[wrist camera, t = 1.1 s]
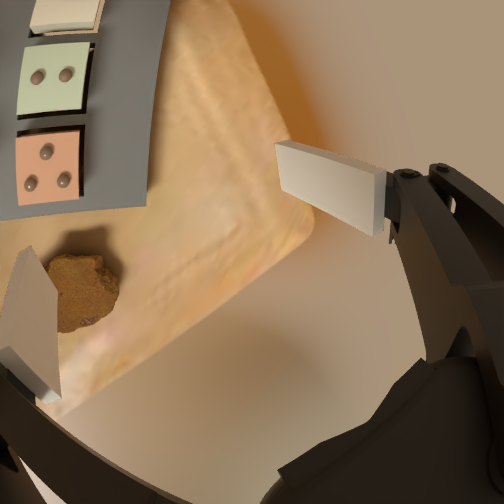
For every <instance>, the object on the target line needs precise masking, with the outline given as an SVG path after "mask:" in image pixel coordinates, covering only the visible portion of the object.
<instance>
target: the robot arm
mask: <svg viewBox="0 0 504 504" xmlns="http://www.w3.org/2000/svg"><path fill="white" fill-rule="evenodd" d="M275 149H276V156H277V163H278V169H279V176H280V183H281V190H283V191H285V192H287V193H289V194H291V195H293V196H295V197H297V198H299V199H301V200H303V201H305V202H307V203H309V204H311V205H313V206H315V207H317V208H319V209H321V210H323V211H325V212H327V213H329V214H331V215H332V216H334V217H337V218H338V219H340V220H342V221H344V222H346V223H348V224H350V225H352V226H353V227H355V228H357V229H359V230H361V231H362V232H364V233H366V234H368V235H370V236H371V237H373V236H375V235H377V234H378V233H380V232H381V231H383V230H384V219H385V217H386V218H388V219H390V220H391V225H390V237H389V244H391V243H392V240H393V239H394V240H395V244H396V245H397V248H398V251H399V254H400V257H401V260H402V263H403V266H404V269H405V273H406V276H407V279H408V283H409V286H410V289H411V293H412V296H413V300H414V303H415V307H416V311H417V315H418V319H419V322H420V326H421V331H422V335H423V339H424V344H425V348H426V361H424V360H423V359H422V358H420V359H419V360H418V361H417V362H416V363H415V364H414V365H413V366H412V367H411V368H410V369H409V370H408V371H407V372H406V373H405V374H404V375H403V376H402V377H401V378H400V379H399V380H398V381H396V382H395V383H394V385H393V386H392V388H391V389H390V391H389V392H388V394H387V395H386V397H385V398H384V400H383V401H382V403H381V404H380V406H379V407H378V409H377V410H376V411H375V413H374V415H373V416H372V417H371V418H370V420H369V421H367V422H366V423H364V424H362V425H360V426H358V427H356V428H354V429H351V430H349V431H347V432H345V433H343V434H340V435H338V436H335V437H333V438H331V439H328V440H326V441H323V442H321V443H319V444H318V445H316V446H315V447H313V448H312V449H310V450H309V451H307V452H306V453H304V454H303V455H301V456H299V457H298V458H296V459H295V460H293V461H291V462H290V463H288V464H286V465H285V466H283V467H282V468H280V469H278V470H277V471H278V472H279V474H280V476H281V478H280V479H279V480H278V481H277V482H276V483H275V484H274V485H273V486H272V487H271V488H270V489H269V491H268V492H267V493H266V494H265V496H264V498H263V499H262V501H261V502H260V504H504V205H503V204H502V203H501V202H500V201H498V200H497V199H496V198H495V197H493V196H492V195H490V194H489V193H488V192H487V191H485V190H484V189H483V188H481V187H480V186H479V185H477V184H476V183H474V182H473V181H471V180H470V179H469V178H467V177H466V176H464V175H463V174H461V173H460V172H458V171H457V170H456V169H454V168H452V167H450V166H448V165H446V164H443V163H438V164H431V165H430V167H429V175H427V176H423V175H422V174H421V173H419V172H418V171H415V170H412V169H399V170H395V171H394V173H393V174H392V173H390V172H387V171H386V169H383V168H380V167H377V166H374V165H371V164H368V163H365V162H362V161H359V160H356V159H353V158H350V157H346V156H343V155H340V154H336V153H333V152H329V151H326V150H322V149H319V148H315V147H312V146H308V145H304V144H300V143H296V142H293V141H289V140H284V141H281V142H278V143H275ZM452 198H454V200H455V202H456V208H455V213H454V214H453V213H452V212H451V205H452ZM57 303H58V291H57V289H56V287H55V286H54V284H53V283H52V281H51V279H50V278H49V276H48V274H47V273H46V271H45V269H44V268H43V266H42V264H41V263H40V261H39V259H38V257H37V255H36V254H35V252H34V250H33V248H32V246H29V247H28V248H26V249H24V250H22V251H21V252H19V253H18V256H17V259H16V262H15V265H14V268H13V271H12V275H11V278H10V281H9V285H8V288H7V292H6V295H5V299H4V303H3V307H2V311H1V315H0V504H47V503H46V502H45V500H44V499H43V497H42V496H41V494H40V493H39V491H38V489H37V488H36V486H35V485H34V483H33V481H32V480H31V478H30V476H29V475H28V473H27V471H26V469H25V468H24V466H23V464H22V462H21V460H20V458H21V459H22V460H23V461H24V463H25V464H26V465H27V466H28V467H29V468H30V469H31V470H32V471H33V472H34V473H35V474H36V475H37V476H38V477H39V478H40V479H41V480H42V481H43V482H44V483H45V484H46V485H47V486H48V487H49V488H50V489H51V490H52V491H53V492H54V493H55V494H56V495H58V496H59V497H60V498H61V499H62V500H63V501H64V502H65V503H67V504H192V503H190V502H188V501H185V500H183V499H181V498H179V497H176V496H174V495H172V494H170V493H168V492H165V491H164V490H161V489H159V488H157V487H155V486H153V485H151V484H150V483H148V482H146V481H144V480H142V479H140V478H138V477H136V476H135V475H133V474H131V473H129V472H128V471H126V470H124V469H122V468H121V467H119V466H117V465H116V464H114V463H113V462H111V461H109V460H108V459H106V458H105V457H103V456H101V455H100V454H99V453H97V452H96V451H94V450H93V449H91V448H90V447H88V446H87V445H85V444H84V443H83V442H81V441H80V440H78V439H77V438H76V437H74V436H73V435H72V434H70V433H69V432H68V431H66V430H65V429H64V428H63V427H61V426H60V425H59V424H58V423H56V422H55V421H54V420H53V419H51V418H50V417H49V416H48V415H47V414H46V413H44V412H43V411H42V410H41V409H40V408H38V407H37V406H36V402H35V396H36V397H37V398H38V399H40V400H41V401H42V402H43V403H44V404H45V405H47V404H49V403H52V402H54V401H56V400H59V399H61V398H62V396H61V387H60V376H59V362H58V340H57ZM19 457H20V458H19Z"/></svg>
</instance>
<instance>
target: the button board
mask: <svg viewBox="0 0 504 504" xmlns="http://www.w3.org/2000/svg"><path fill="white" fill-rule="evenodd" d="M35 3H36V0H0V221H5V220H13V219H20V218H28V217H36V216H44V215H53V214H62V213H72V212H82V211H92V210H104V209H115V208H128V207H142V206H146V196H147V173H148V157H149V143H150V131H151V121H152V111H153V103H154V94H155V87H156V79H157V73H158V66H159V60H160V54H161V48H162V42H163V37H164V32H165V27H166V22H167V17H168V12H169V8H170V3H171V0H105V4H104V7H103V11H102V15H101V20H100V24H99V29H98V33H89V34H88V33H87V34H65V35H53V36H43V37H34V38H33V36H34V33H33V31H32V30H31V28H30V27H29V26H30V22H31V18H32V14H33V10H34V7H35ZM79 42H90V48H95V49H94V55H93V61H92V67H91V74H90V82H89V90H88V99H87V110H86V114H73V115H60V116H49V117H39V118H31V119H23V114H22V115H16V114H17V101H18V90H19V81H20V74H21V67H22V61H23V55H24V49H25V47H32V46H40V45H50V44H62V43H79ZM22 119H23V120H22ZM84 124H85V141H84V190H81V191H79V199H75V200H65V201H55V202H46V203H38V204H29V205H22V206H18V195H17V181H16V138H17V137H19V136H22V130H28V129H37V128H46V127H56V126H69V125H84Z"/></svg>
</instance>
